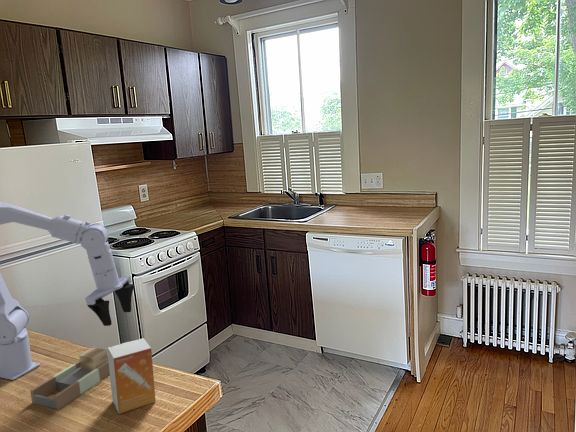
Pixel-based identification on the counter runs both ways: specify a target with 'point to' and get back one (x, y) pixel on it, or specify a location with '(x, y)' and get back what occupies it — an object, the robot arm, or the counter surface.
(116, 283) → the robot arm
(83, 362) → the maple block
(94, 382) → the board
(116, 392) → the small box
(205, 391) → the counter surface
